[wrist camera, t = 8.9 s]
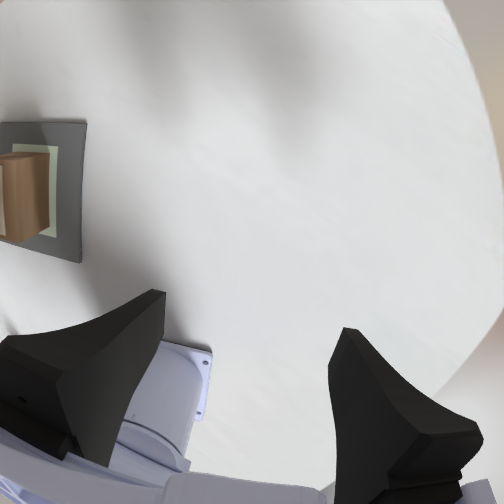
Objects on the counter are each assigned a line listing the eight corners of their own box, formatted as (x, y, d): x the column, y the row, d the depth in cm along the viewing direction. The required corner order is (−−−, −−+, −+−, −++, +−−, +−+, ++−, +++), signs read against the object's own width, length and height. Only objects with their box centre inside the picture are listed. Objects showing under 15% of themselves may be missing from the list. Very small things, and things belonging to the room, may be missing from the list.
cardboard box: (49, 153, 20) (15, 160, 16) (49, 226, 22) (18, 244, 19) (16, 151, 20) (-18, 159, 16) (17, 219, 23) (-13, 235, 19)
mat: (81, 261, 24) (78, 263, 23) (2, 239, 24) (-1, 240, 23) (87, 123, 20) (83, 123, 19) (1, 122, 20) (-2, 122, 19)
